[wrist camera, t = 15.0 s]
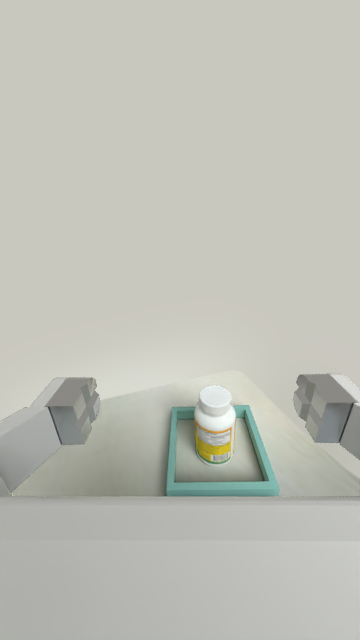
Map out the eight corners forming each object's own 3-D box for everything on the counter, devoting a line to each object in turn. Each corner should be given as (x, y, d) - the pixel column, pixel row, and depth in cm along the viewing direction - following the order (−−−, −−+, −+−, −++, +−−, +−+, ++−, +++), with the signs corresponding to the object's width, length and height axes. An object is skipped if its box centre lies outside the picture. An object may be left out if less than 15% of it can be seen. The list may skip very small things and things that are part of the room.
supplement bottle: (221, 477, 28) (223, 419, 24) (187, 453, 31) (184, 398, 27) (240, 445, 31) (244, 391, 28) (208, 427, 35) (208, 376, 31)
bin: (167, 500, 26) (166, 490, 25) (172, 415, 37) (172, 407, 37) (277, 498, 25) (279, 488, 24) (248, 413, 37) (248, 405, 36)
